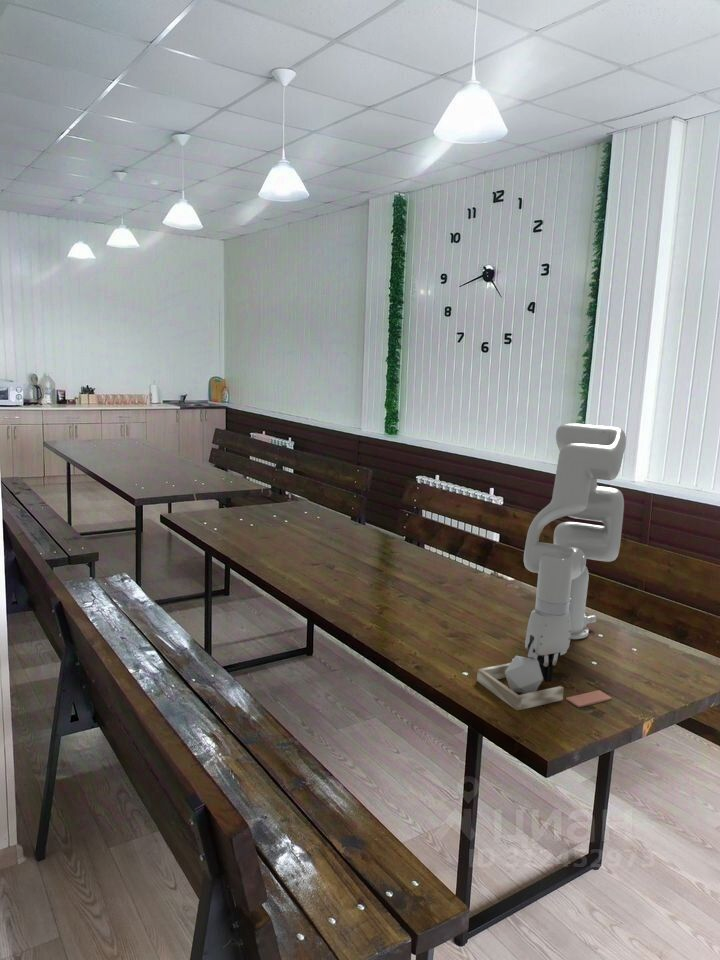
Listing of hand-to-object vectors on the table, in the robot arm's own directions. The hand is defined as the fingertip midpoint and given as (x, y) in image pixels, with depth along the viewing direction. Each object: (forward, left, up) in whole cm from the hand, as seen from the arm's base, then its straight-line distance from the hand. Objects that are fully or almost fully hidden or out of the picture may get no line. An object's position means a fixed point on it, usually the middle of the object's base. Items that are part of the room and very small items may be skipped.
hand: (544, 679), depth 169 cm
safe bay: (+7, 0, -1) cm, 7 cm away
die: (+7, +1, -2) cm, 7 cm away
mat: (-5, +10, -1) cm, 11 cm away
